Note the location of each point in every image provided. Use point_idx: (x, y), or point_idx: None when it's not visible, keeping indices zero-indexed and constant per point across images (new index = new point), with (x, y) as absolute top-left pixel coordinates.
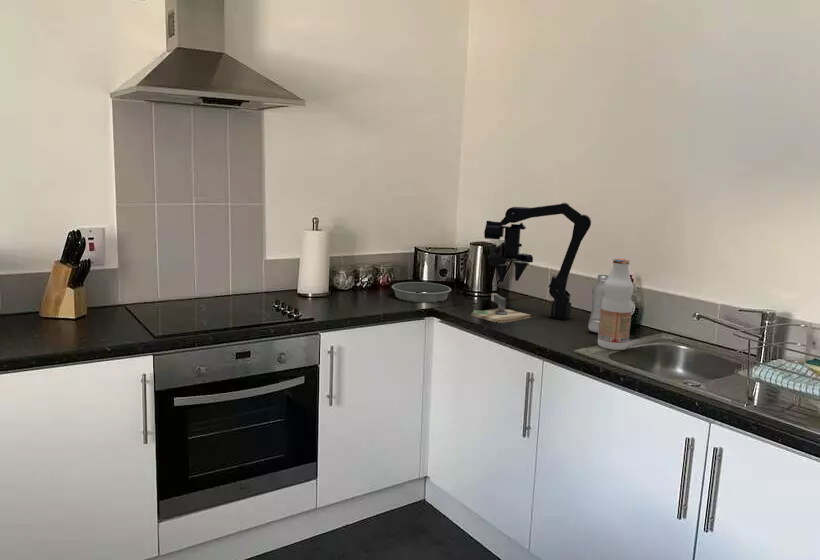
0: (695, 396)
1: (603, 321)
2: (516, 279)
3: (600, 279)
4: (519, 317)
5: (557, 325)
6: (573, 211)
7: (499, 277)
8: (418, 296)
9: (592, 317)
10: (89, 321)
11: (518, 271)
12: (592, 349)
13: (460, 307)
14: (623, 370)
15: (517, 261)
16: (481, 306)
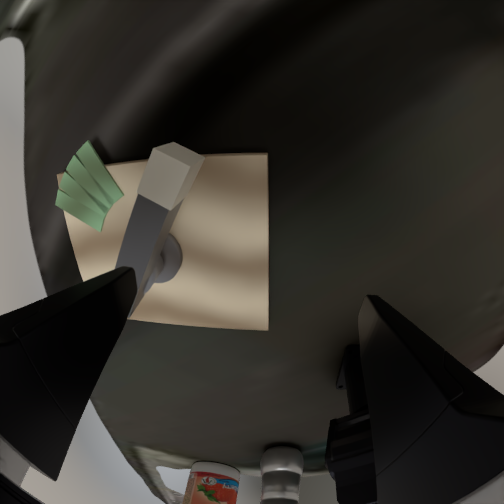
0: (153, 491)
1: (183, 499)
2: (364, 318)
3: None
4: (192, 324)
5: (261, 401)
6: None
7: (87, 288)
8: None
9: (263, 477)
10: None
11: (390, 407)
12: (170, 458)
13: (131, 7)
14: (143, 472)
15: (488, 499)
16: (254, 19)
